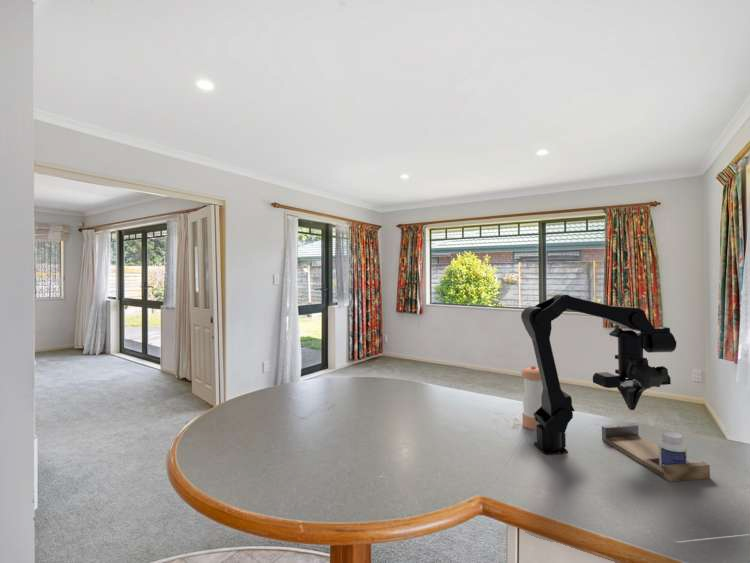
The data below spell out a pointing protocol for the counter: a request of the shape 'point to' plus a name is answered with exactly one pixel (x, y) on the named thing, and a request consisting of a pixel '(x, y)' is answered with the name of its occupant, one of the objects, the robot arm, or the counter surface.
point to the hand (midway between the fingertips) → (631, 409)
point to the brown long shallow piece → (650, 453)
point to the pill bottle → (671, 449)
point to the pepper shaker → (531, 396)
